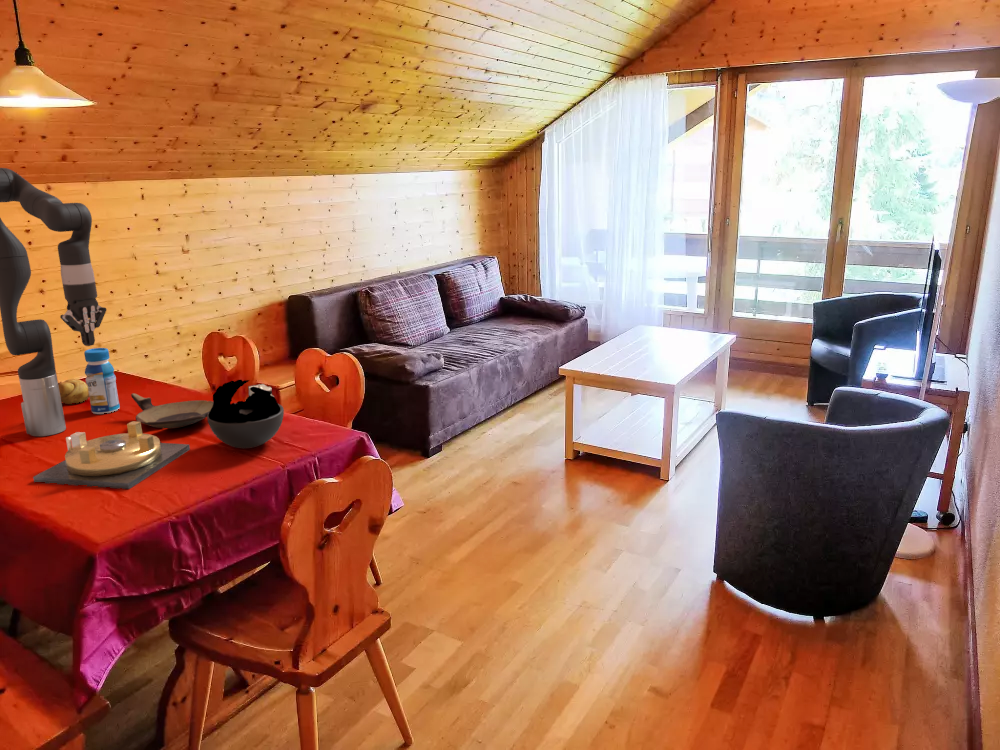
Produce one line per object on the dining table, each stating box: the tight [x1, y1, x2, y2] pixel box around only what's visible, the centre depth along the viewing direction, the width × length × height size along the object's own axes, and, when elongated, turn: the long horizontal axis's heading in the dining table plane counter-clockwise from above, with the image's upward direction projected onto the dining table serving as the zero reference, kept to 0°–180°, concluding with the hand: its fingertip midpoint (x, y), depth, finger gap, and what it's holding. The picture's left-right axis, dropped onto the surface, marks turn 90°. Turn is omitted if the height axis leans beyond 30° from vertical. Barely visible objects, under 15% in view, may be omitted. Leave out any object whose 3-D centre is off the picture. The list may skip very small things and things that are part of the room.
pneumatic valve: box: [247, 383, 276, 399], centre depth 221 cm, size 6×12×12 cm, turn 32°
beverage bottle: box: [84, 347, 121, 415], centre depth 232 cm, size 8×8×20 cm
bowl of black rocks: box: [206, 379, 285, 449], centre depth 202 cm, size 20×20×19 cm
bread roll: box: [58, 378, 90, 405], centre depth 245 cm, size 13×10×8 cm
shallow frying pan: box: [130, 392, 214, 429], centre depth 223 cm, size 22×30×8 cm
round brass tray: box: [64, 421, 161, 476], centre depth 190 cm, size 22×22×6 cm
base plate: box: [32, 436, 191, 490], centre depth 191 cm, size 26×26×8 cm
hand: (89, 345), depth 197 cm, fingers closed
